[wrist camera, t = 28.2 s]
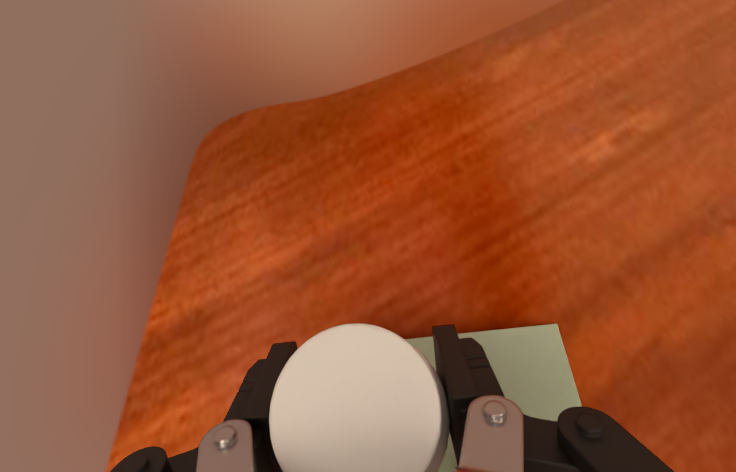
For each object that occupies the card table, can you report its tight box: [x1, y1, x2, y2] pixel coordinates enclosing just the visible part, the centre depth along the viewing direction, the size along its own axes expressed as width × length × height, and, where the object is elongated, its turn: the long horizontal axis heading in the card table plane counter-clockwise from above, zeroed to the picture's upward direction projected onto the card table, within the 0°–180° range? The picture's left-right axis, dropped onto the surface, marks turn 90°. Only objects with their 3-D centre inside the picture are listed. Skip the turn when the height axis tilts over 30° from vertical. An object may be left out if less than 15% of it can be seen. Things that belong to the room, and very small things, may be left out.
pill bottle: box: [269, 323, 450, 472], centre depth 13 cm, size 5×5×8 cm
